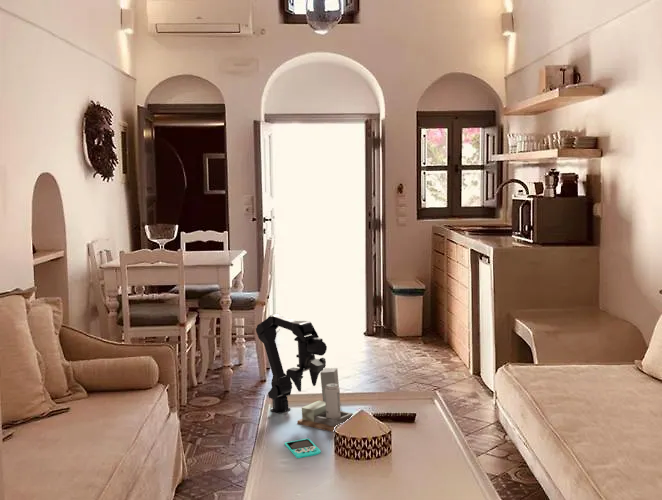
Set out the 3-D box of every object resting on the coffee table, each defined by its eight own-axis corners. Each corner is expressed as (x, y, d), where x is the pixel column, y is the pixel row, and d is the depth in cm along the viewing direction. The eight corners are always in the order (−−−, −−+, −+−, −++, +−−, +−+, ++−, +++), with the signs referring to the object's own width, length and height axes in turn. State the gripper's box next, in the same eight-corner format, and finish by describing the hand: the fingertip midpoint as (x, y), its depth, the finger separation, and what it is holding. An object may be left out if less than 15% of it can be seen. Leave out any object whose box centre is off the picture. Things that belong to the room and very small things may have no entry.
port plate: (297, 423, 303) (296, 409, 303) (322, 412, 316) (321, 398, 315) (335, 432, 291) (334, 417, 290) (359, 420, 303) (358, 406, 302)
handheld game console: (296, 459, 266) (296, 456, 266) (283, 445, 281) (283, 441, 281) (322, 455, 270) (322, 451, 269) (308, 440, 284) (308, 437, 284)
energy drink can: (326, 418, 305) (325, 383, 303) (341, 418, 304) (339, 382, 303) (325, 423, 299) (324, 387, 297) (340, 422, 298) (338, 386, 297)
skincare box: (337, 407, 322) (335, 372, 320) (321, 407, 323) (319, 372, 322) (340, 401, 330) (339, 367, 328) (325, 401, 332) (323, 367, 330)
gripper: (304, 359, 294) (306, 397, 295) (334, 349, 308) (336, 385, 310) (284, 356, 301) (286, 393, 302) (314, 346, 315) (315, 382, 317)
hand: (307, 388), depth 307 cm, fingers open, 9 cm apart
